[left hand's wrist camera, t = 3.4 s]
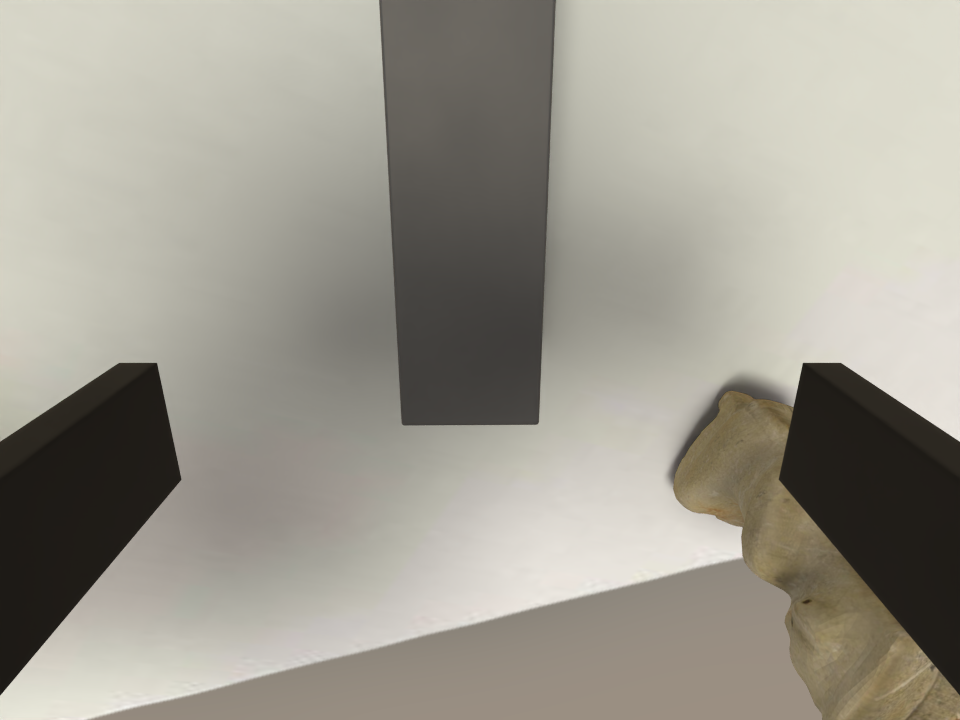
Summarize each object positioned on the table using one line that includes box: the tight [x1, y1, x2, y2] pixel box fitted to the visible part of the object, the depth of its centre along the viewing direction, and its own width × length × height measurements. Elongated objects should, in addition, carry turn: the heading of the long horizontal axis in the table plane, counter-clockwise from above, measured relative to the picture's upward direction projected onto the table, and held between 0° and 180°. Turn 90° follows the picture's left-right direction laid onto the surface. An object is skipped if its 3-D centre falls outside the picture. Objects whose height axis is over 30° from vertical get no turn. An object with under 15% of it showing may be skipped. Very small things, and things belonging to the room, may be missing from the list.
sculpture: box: [673, 391, 960, 720], centre depth 24 cm, size 6×7×15 cm
